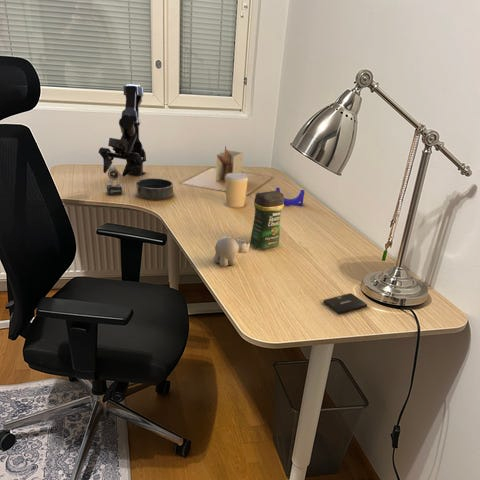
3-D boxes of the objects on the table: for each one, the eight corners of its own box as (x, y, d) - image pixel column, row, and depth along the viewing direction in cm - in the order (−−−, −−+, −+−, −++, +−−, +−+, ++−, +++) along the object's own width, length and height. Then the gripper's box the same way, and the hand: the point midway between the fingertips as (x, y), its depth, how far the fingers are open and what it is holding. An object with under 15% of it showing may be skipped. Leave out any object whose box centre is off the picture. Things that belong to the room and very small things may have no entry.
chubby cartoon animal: (254, 263, 146) (256, 238, 141) (221, 269, 140) (222, 243, 136) (242, 254, 151) (244, 229, 146) (210, 260, 145) (211, 235, 141)
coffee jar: (260, 252, 153) (265, 197, 143) (246, 243, 159) (250, 190, 149) (282, 247, 158) (289, 193, 148) (269, 239, 163) (274, 186, 154)
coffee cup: (249, 203, 196) (252, 175, 189) (240, 209, 188) (242, 180, 182) (230, 199, 199) (231, 171, 192) (220, 205, 191) (221, 176, 185)
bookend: (215, 181, 220) (216, 145, 212) (224, 176, 229) (226, 141, 220) (232, 184, 218) (234, 147, 209) (241, 179, 227) (243, 143, 218)
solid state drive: (322, 302, 127) (323, 299, 127) (350, 295, 131) (351, 293, 131) (339, 314, 122) (339, 312, 122) (367, 306, 126) (368, 304, 126)
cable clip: (274, 204, 197) (275, 190, 193) (274, 201, 200) (276, 187, 197) (302, 207, 196) (304, 193, 193) (302, 203, 200) (304, 190, 197)
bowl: (151, 187, 206) (151, 176, 203) (180, 194, 200) (179, 182, 198) (129, 195, 194) (128, 183, 192) (158, 203, 189) (158, 191, 186)
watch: (109, 196, 192) (107, 169, 186) (106, 190, 198) (104, 164, 192) (123, 195, 194) (121, 169, 188) (119, 190, 200) (117, 164, 194)
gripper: (98, 126, 190) (84, 159, 187) (137, 132, 184) (123, 166, 181) (111, 143, 200) (98, 175, 197) (149, 149, 195) (136, 182, 192)
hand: (113, 174), depth 192 cm, fingers open, 9 cm apart
